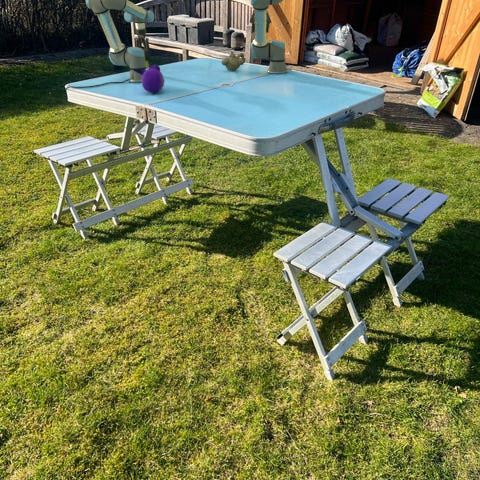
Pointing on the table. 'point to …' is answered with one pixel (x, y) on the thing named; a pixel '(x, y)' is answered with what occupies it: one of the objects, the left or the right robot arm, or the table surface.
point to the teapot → (233, 61)
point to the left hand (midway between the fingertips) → (144, 60)
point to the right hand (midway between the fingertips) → (260, 32)
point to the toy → (152, 79)
